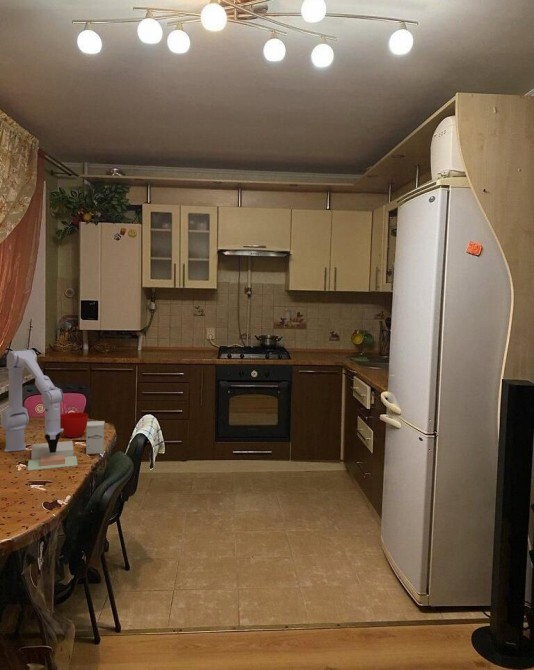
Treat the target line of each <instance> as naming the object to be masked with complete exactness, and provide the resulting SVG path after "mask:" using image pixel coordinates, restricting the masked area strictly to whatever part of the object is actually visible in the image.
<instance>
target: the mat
mask: <svg viewBox="0 0 534 670" xmlns="http://www.w3.org/2000/svg"><path fill="white" fill-rule="evenodd" d="M40 460H41V459H36V460H32V459H28V463H27V471H26V472H29V471H39V470H40V471H41V470H51V469H61V467H62V468H69V467H70V466H71V467H78V459H77V455H74V456H69V457H65V464H61V465H51V466H40Z"/></svg>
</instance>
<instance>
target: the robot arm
mask: <svg viewBox="0 0 534 670" xmlns="http://www.w3.org/2000/svg"><path fill="white" fill-rule="evenodd" d="M37 356H38V355H37V354H36V352H35V350H33V349H32V348H30V349H24V350H23V349H22V350H11V351H9V352H8V353H7V354H6V369H8V406H7V407H6V408H5V409H4V410H3V411H2V412H1V418H0V425H1V428H2V429H4V431H5V447H4V450H3V451H4V453H6V452H7V453H8V452H9V453H10V452H19V451H25V450H26V447H27V443H26V442H25V429H26V427H27V425H28V424H29V421H30V417H29V413H28V409H27V408H26V407H24V406H23V371H24V369H26V370H27V371H28V372H29V374H31V376H32V377H33V378H34V379H35V382H34V386H36V388H37V389H38V391H39V393H40V394H41V395H42V396H41V402H42V405H43V409H44V433H45V435H44V436H45V437H44V438H45V440H46V443H48V446H49V451H50V453H55V452H56V449H57V443H58V442H59V440H60V438H61V433H62V431H63V429H60V415H61V403H62V402H63V400H64V392H63V390H62V388H58V387H57V386H55V384H54V383H53V382H52V381H51V378H50V377H49V376H48V375H44V373H43V371H42V370H41V368H40V366H39V363H38V361H37V360H38V357H37Z"/></svg>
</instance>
